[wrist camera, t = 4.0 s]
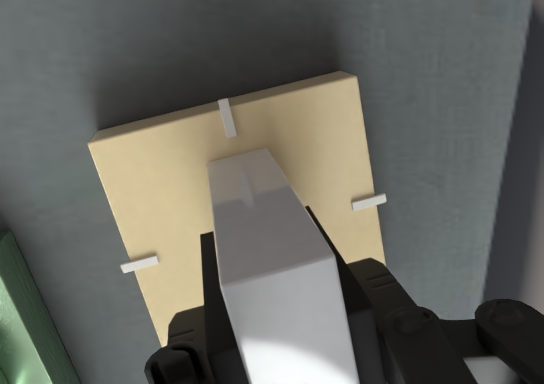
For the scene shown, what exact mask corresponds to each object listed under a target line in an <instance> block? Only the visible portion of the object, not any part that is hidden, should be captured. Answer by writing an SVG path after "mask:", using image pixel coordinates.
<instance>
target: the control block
mask: <svg viewBox="0 0 544 384" xmlns="http://www.w3.org/2000/svg"><path fill="white" fill-rule="evenodd" d="M0 384H81V383H80V381H79V379H78V377H77V375H76V372H75V370H74V368H73V366H72V364H71V361H70V359H69V357H68V355H67V353H66V350H65V348H64V346H63V344H62V342H61V339H60V337H59V335H58V333H57V331H56V329H55V326H54V324H53V322H52V320H51V318H50V315H49V313H48V311H47V309H46V307H45V304H44V302H43V300H42V298H41V296H40V293H39V291H38V289H37V287H36V285H35V283H34V280H33V278H32V276H31V274H30V272H29V269H28V267H27V265H26V263H25V261H24V258H23V256H22V254H21V252H20V250H19V247H18V245H17V243H16V241H15V239H14V237H13V234H12V232H11V230H8V231H4V232H0Z"/></svg>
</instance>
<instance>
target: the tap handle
mask: <svg viewBox="0 0 544 384" xmlns="http://www.w3.org/2000/svg"><path fill="white" fill-rule="evenodd" d="M206 172H207V181H208V189H209V197H210V206H211V214H212V223H213V231H214V239H215V248H216V256H217V265H218V273H219V282H220V289H221V292H222V296H223V299H224V302H225V306H226V309H227V312H228V316H229V319H230V322H231V326H232V329H233V332H234V336H235V339H236V342H237V346H238V349H239V353H240V356H241V359H242V363H243V366H244V369H245V373H246V376H247V379H248V383H249V384H360V380H359V375H358V370H357V365H356V360H355V355H354V349H353V344H352V339H351V334H350V329H349V323H348V318H347V313H346V308H345V303H344V298H343V292H342V287H341V282H340V277H339V272H338V267H337V261H336V256H335V255H334V253H333V251H332V250H331V248H330V247H329V245H328V243H327V242H326V240H325V239H324V237H323V235H322V234H321V232H320V231H319V229H318V227H317V226H316V224H315V222H314V221H313V219H312V218H311V216H310V214H309V213H308V211H307V210H306V208H305V206H304V205H303V203H302V202H301V200H300V198H299V197H298V195H297V194H296V192H295V190H294V189H293V187H292V186H291V184H290V182H289V181H288V179H287V178H286V176H285V174H284V173H283V171H282V170H281V168H280V166H279V165H278V163H277V161H276V160H275V158H274V157H273V155H272V153H271V152H270V150H269V149H268V148H262V149H258V150H255V151H251V152H247V153H243V154H239V155H235V156H231V157H227V158H224V159H220V160H216V161H212V162H208V163H206Z"/></svg>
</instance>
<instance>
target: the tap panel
mask: <svg viewBox="0 0 544 384" xmlns="http://www.w3.org/2000/svg"><path fill="white" fill-rule="evenodd" d="M88 147H89V150H90V153H91V155H92V158H93V161H94V164H95V166H96V169H97V172H98V174H99V177H100V180H101V183H102V185H103V188H104V191H105V193H106V196H107V199H108V202H109V204H110V207H111V210H112V213H113V215H114V218H115V221H116V223H117V226H118V229H119V232H120V234H121V237H122V240H123V242H124V245H125V248H126V251H127V253H128V256H129V259H130V261H129V262H126V263H122V264H121V265H120V266H121V269H122V271H123V273H126V272H130V271H134V272H135V275H136V278H137V281H138V283H139V286H140V289H141V291H142V294H143V297H144V300H145V302H146V305H147V308H148V311H149V313H150V316H151V319H152V321H153V324H154V327H155V330H156V332H157V335H158V338H159V340H160V343H161V346H162V347H164V346H167V340H168V325H169V323H170V322H171V320H172V318H173V317H174V315H175V314H176V313H177V312H181V311H184V310H188V309H191V308H195V307H199V306H202V305H204V298H203V279H202V261H201V243H200V234H204V233H208V232H211V231H213V223H212V214H211V206H210V197H209V189H208V181H207V172H206V163H208V162H212V161H216V160H220V159H224V158H227V157H231V156H235V155H239V154H243V153H247V152H251V151H255V150H258V149H262V148H268V149H269V150H270V152H271V153H272V155H273V157H274V158H275V160H276V161H277V163H278V165H279V166H280V168H281V170H282V171H283V173H284V174H285V176H286V178H287V179H288V181H289V182H290V184H291V186H292V187H293V189H294V190H295V192H296V194H297V195H298V197H299V198H300V200H301V202H302V203H303V205H304V206H308V205H309V207H310V208H311V210H312V212H313V213H314V215H315V216H316V218H317V219H318V221H319V222H320V224H321V225H322V227H323V229H324V230H325V232H326V233H327V235H328V236H329V238H330V239H331V241H332V242H333V244H334V246H335V247H336V249H337V250H338V252H339V253H340V255H341V256H342V258H343V259H344V261H345V263H346V264H348V263H352V262H355V261H359V260H362V259H366V258H370V257H371V258H373V259H375V260H377V261H379V262H381V263H383V264H384V265H385V266H386V263H385V256H384V250H383V243H382V237H381V230H380V223H379V217H378V210H377V204H381V203H385V202H387V201H386V194H385V193H382V194H378V195H375V191H374V184H373V177H372V171H371V164H370V158H369V151H368V145H367V138H366V131H365V125H364V118H363V112H362V105H361V99H360V92H359V85H358V79H357V76H355V75H352V74H349V73H346V72H343V71H337V72H333V73H329V74H325V75H321V76H317V77H313V78H309V79H305V80H301V81H297V82H293V83H289V84H285V85H281V86H277V87H273V88H269V89H265V90H260V91H256V92H252V93H248V94H244V95H240V96H236V97H232V98H224V99H220V100H218V101H216V102H212V103H208V104H204V105H200V106H196V107H192V108H188V109H184V110H180V111H176V112H172V113H168V114H164V115H160V116H156V117H152V118H148V119H143V120H139V121H135V122H131V123H127V124H123V125H119V126H115V127H111V128H107V129H103V130H99V131H97V132H96V133H95V135H94V136H93V137H92V138H91V139H90V141H89V142H88Z"/></svg>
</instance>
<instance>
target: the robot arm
mask: <svg viewBox="0 0 544 384" xmlns="http://www.w3.org/2000/svg"><path fill="white" fill-rule="evenodd" d="M305 208H306V210H307V211H308V213H309V214H310V216H311V218H312V219H313V221H314V222H315V224H316V226H317V227H318V229H319V231H320V232H321V234H322V235H323V237H324V239H325V240H326V242H327V243H328V245H329V247H330V248H331V250H332V251H333V253H334V255H335V256H336V261H337V267H338V272H339V277H340V282H341V287H342V292H343V298H344V303H345V308H346V313H347V318H348V323H349V329H350V334H351V339H352V344H353V349H354V355H355V360H356V365H357V370H358V375H359V380H360V384H387V383H388V384H544V315H543V314H541V313H540V312H538V311H537V310H535V309H534V308H532V307H531V306H529V305H527V304H524V303H523V302H520V301H515V300H511V299H495V300H491V301H486V302H485V303H483V304H481V305H480V306H478V308H477V309H476V311H475V319H470V320H442V319H439V318H438V316H437V315H436V314H435V313H434V312H433V311H431V310H429V309H427V308H424V307H419V306H417V305H416V304H415V302H414V301H413V300H412V299H411V297H410V296H409V295H408V294H407V292H406V291H405V290H404V289H403V287H402V286H401V285H400V284H399V282H397V280H396V279H395V277H394V276H393V275H392V274H391V273H390V271H389V270H388V269H387V267H386V266H385V265H384V264H383V263H381V262H379V261H377V260H375V259H373V258H371V257H370V258H366V259H362V260H359V261H355V262H352V263H348V264H346V263H345V261H344V259H343V258H342V256H341V255H340V253H339V252H338V250H337V249H336V247H335V246H334V244H333V242H332V241H331V239H330V238H329V236H328V235H327V233H326V232H325V230H324V229H323V227H322V225H321V224H320V222H319V221H318V219H317V218H316V216H315V215H314V213H313V212H312V210H311V208H310V207H309V205H308V206H305ZM200 243H201V261H202V279H203V298H204V305H202V306H199V307H195V308H191V309H188V310H184V311H181V312H177V313H176V314H175V315H174V317H173V318H172V320H171V322H170V323H169V325H168V340H167V346H164V347H162V348H160V349H159V350H158V351H157V352H155V353H154V354H153V355H152V356H151V357H150V358H149V360H148V361H147V363H146V365H145V370H144V372H145V375H146V377H147V380H148V382H149V384H249V383H248V379H247V376H246V373H245V369H244V366H243V363H242V359H241V356H240V353H239V349H238V346H237V342H236V339H235V336H234V332H233V329H232V326H231V322H230V319H229V316H228V312H227V309H226V306H225V302H224V299H223V296H222V292H221V289H220V282H219V273H218V265H217V256H216V248H215V239H214V231H211V232H208V233H204V234H200Z"/></svg>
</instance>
